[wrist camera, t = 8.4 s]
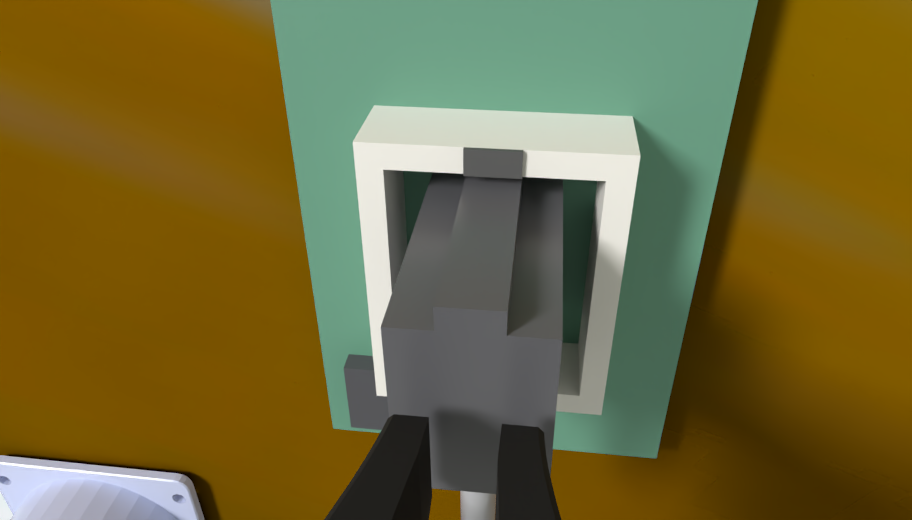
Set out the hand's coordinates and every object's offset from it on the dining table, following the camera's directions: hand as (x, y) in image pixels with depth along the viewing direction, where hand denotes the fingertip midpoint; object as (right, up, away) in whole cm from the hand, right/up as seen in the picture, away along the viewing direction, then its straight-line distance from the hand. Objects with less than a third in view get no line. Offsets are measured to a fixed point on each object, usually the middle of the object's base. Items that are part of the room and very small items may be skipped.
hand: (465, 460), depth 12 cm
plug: (+1, +3, +6) cm, 7 cm away
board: (+1, +4, +7) cm, 8 cm away
